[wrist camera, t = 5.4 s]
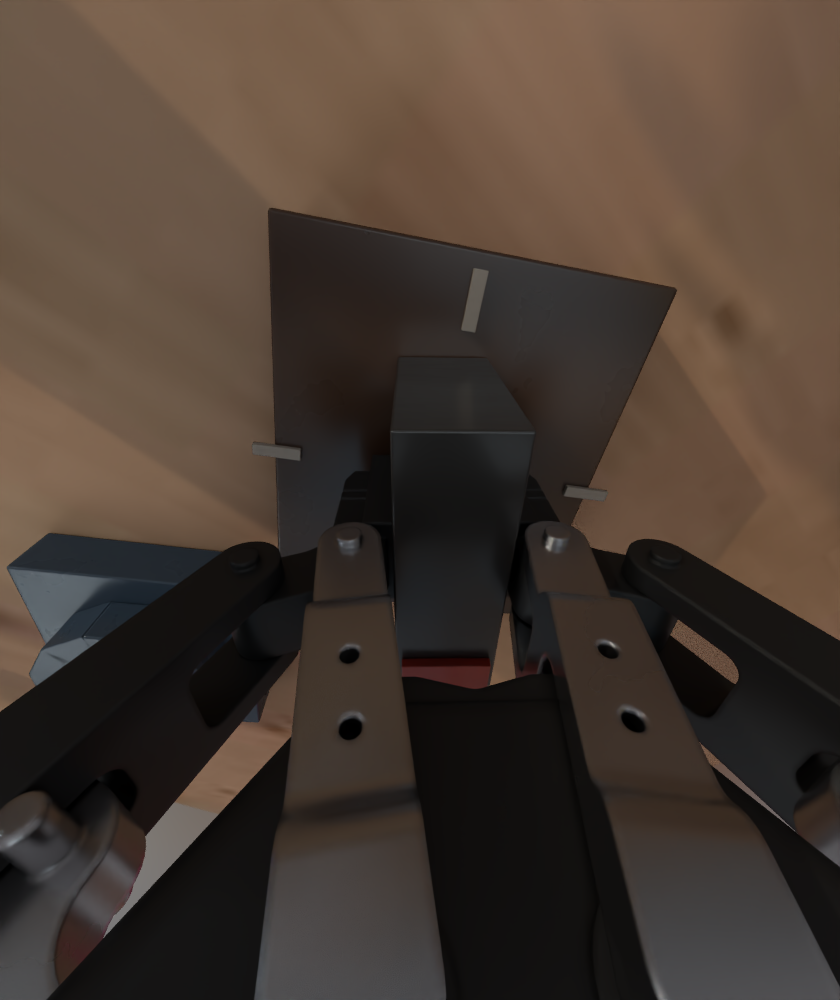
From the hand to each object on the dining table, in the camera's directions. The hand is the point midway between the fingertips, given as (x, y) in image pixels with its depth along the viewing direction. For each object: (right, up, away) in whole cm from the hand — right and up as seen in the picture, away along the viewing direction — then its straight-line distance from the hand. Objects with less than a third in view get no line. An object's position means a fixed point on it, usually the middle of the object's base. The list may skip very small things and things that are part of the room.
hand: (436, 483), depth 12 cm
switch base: (0, +2, +3) cm, 4 cm away
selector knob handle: (0, 0, 0) cm, 1 cm away
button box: (-13, -7, +8) cm, 17 cm away
